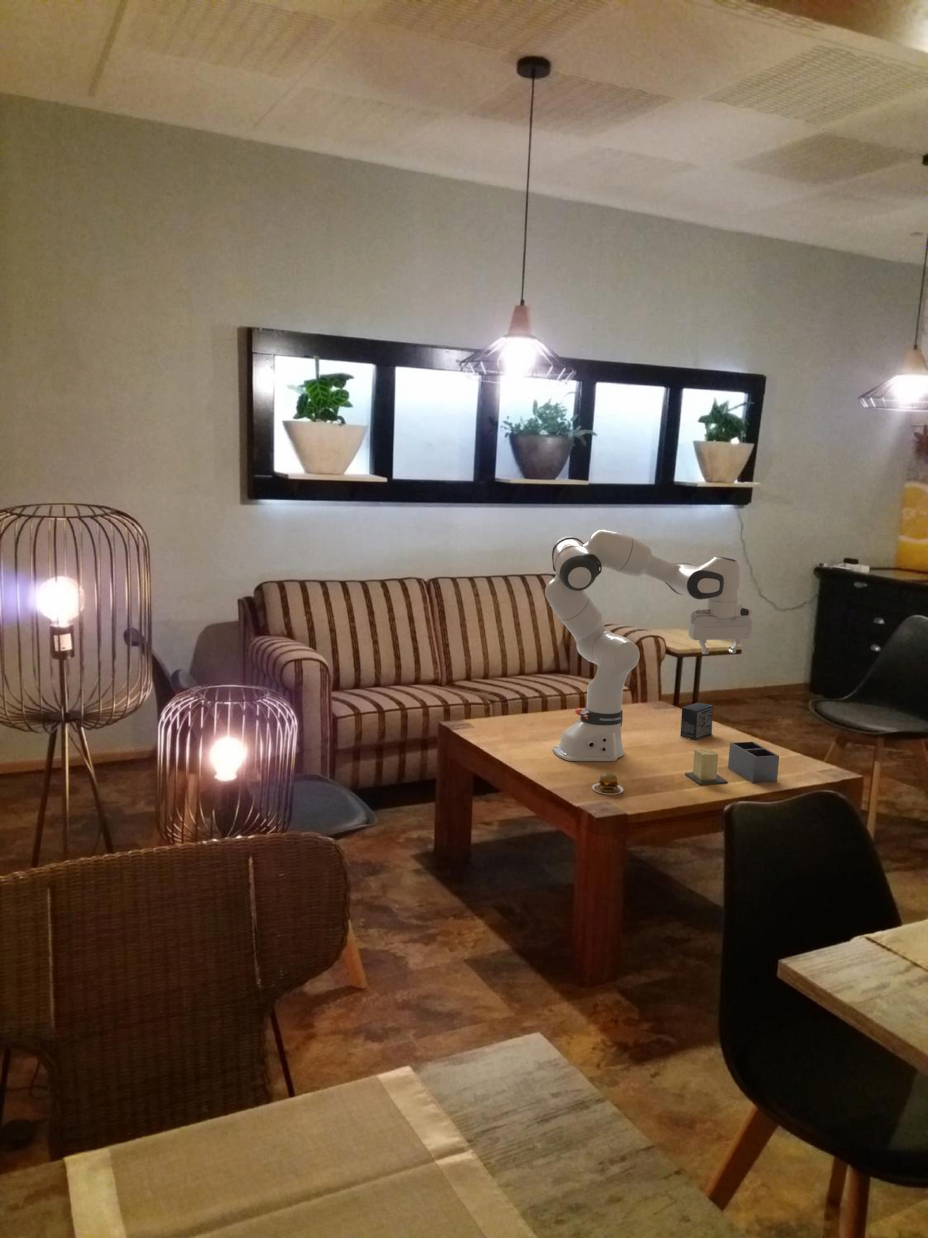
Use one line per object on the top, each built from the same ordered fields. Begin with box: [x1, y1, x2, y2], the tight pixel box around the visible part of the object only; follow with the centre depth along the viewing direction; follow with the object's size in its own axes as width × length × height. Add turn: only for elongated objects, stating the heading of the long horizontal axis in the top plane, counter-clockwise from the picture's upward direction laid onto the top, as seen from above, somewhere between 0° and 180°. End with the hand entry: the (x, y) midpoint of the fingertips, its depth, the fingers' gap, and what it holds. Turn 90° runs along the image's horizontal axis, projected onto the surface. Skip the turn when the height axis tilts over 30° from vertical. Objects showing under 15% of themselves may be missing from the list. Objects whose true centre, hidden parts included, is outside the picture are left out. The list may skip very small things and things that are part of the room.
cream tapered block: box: [692, 748, 719, 781], centre depth 279 cm, size 5×5×8 cm
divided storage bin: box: [727, 741, 780, 784], centre depth 285 cm, size 8×14×8 cm, turn 15°
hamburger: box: [591, 772, 624, 796], centre depth 269 cm, size 12×12×6 cm
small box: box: [680, 702, 714, 741], centre depth 324 cm, size 11×6×10 cm, turn 134°
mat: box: [684, 771, 728, 786], centre depth 281 cm, size 9×9×1 cm
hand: (718, 653), depth 294 cm, fingers open, 8 cm apart
